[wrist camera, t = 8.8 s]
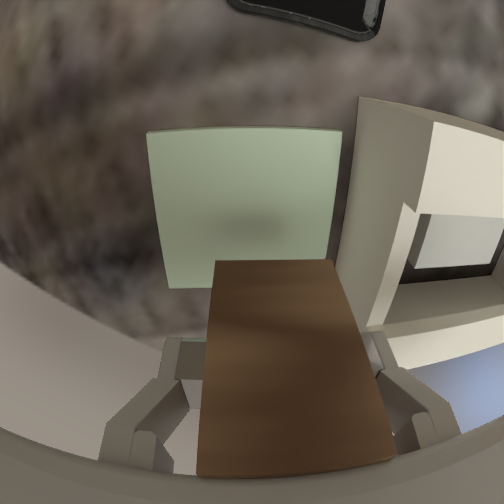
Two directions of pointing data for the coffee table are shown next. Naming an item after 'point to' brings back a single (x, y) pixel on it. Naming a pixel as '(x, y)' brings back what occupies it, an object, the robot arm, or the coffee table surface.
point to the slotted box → (423, 230)
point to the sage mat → (241, 195)
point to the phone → (322, 15)
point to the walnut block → (286, 376)
